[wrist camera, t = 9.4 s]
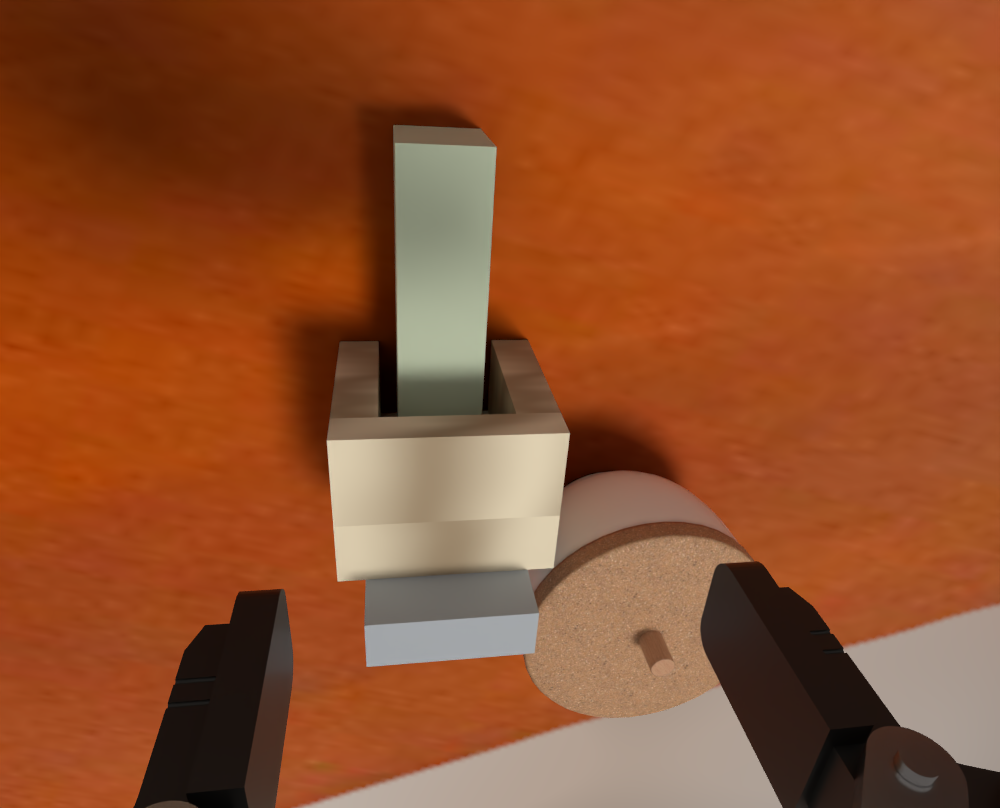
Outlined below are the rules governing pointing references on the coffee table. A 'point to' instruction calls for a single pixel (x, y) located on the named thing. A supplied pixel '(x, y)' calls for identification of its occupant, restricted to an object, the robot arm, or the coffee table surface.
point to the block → (445, 474)
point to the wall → (449, 617)
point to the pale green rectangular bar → (442, 267)
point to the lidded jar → (627, 596)
